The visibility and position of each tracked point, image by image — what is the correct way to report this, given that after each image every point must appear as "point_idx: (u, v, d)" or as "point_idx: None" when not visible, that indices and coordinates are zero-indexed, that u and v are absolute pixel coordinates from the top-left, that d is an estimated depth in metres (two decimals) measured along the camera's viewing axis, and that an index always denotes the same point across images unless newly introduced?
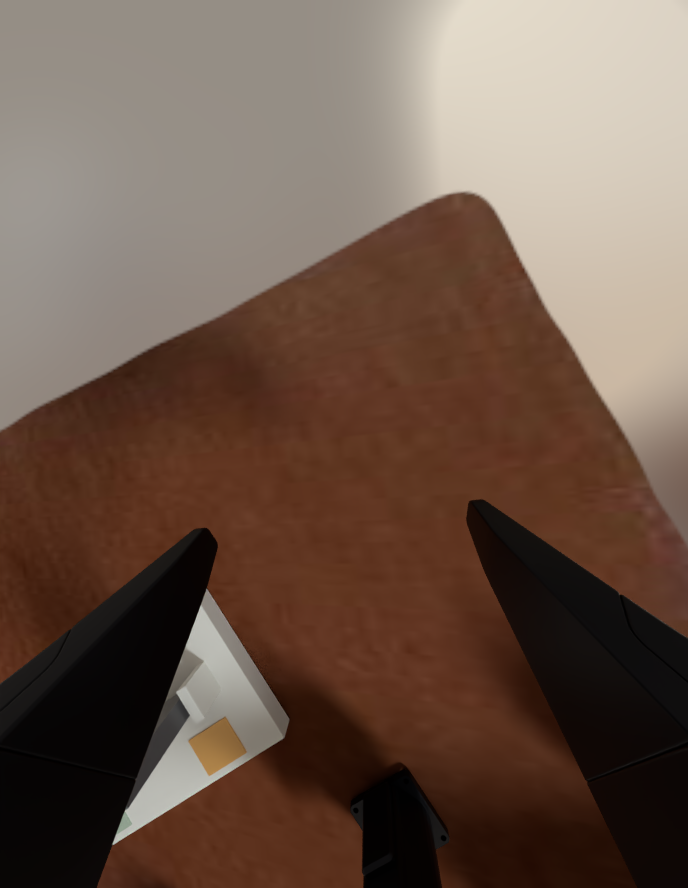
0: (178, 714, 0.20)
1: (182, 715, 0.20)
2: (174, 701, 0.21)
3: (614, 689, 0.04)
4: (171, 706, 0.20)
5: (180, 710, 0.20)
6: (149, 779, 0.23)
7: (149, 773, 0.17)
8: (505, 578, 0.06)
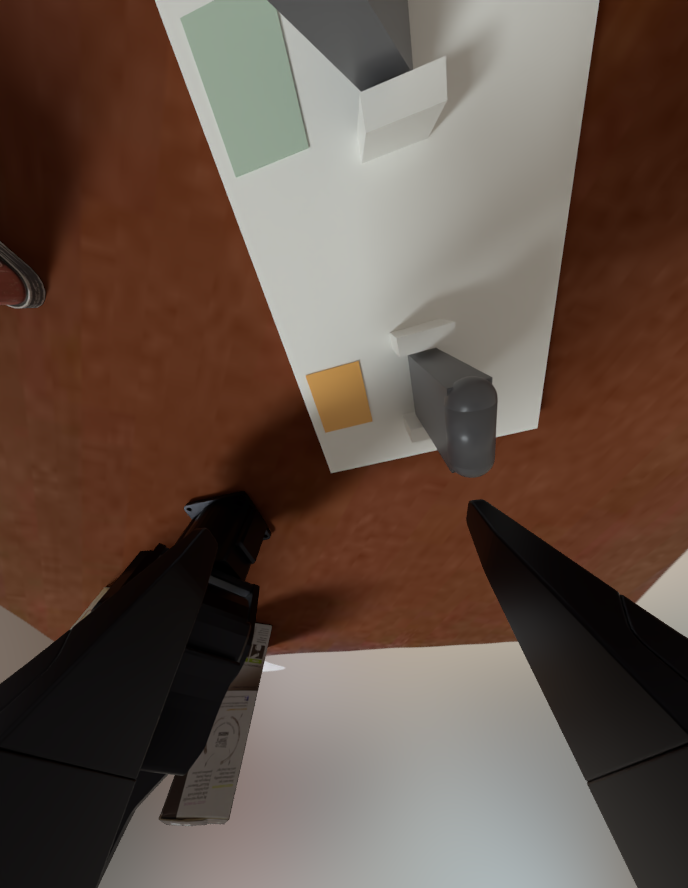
0: None
1: None
2: None
3: (614, 689, 0.04)
4: None
5: None
6: (315, 260, 0.13)
7: None
8: (505, 578, 0.06)
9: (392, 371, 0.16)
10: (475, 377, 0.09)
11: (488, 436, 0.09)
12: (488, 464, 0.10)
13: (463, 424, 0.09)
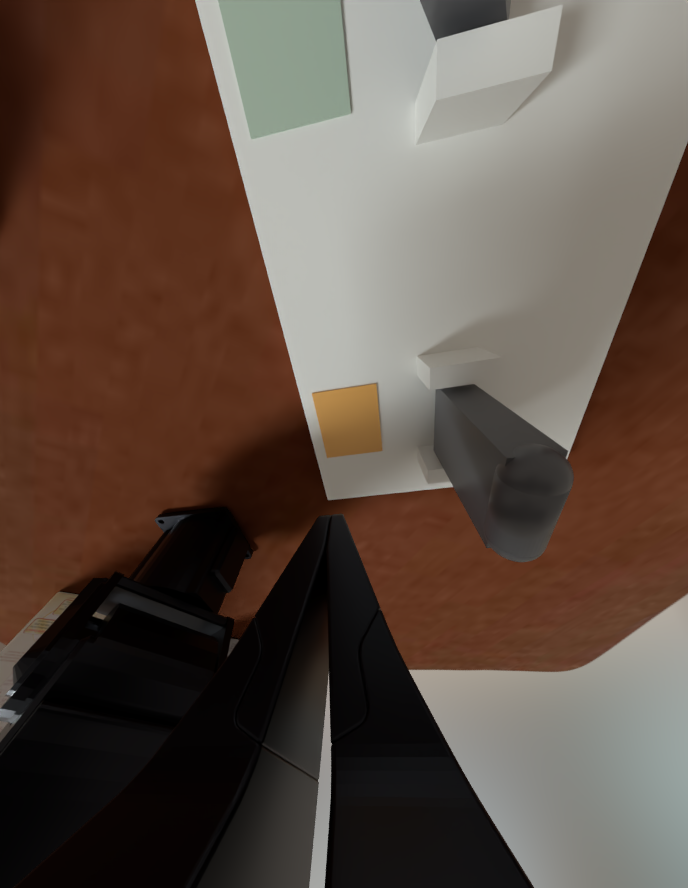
0: None
1: None
2: None
3: None
4: None
5: None
6: (340, 259, 0.11)
7: None
8: None
9: (413, 399, 0.14)
10: (547, 449, 0.07)
11: (551, 524, 0.07)
12: (541, 552, 0.08)
13: (523, 507, 0.07)
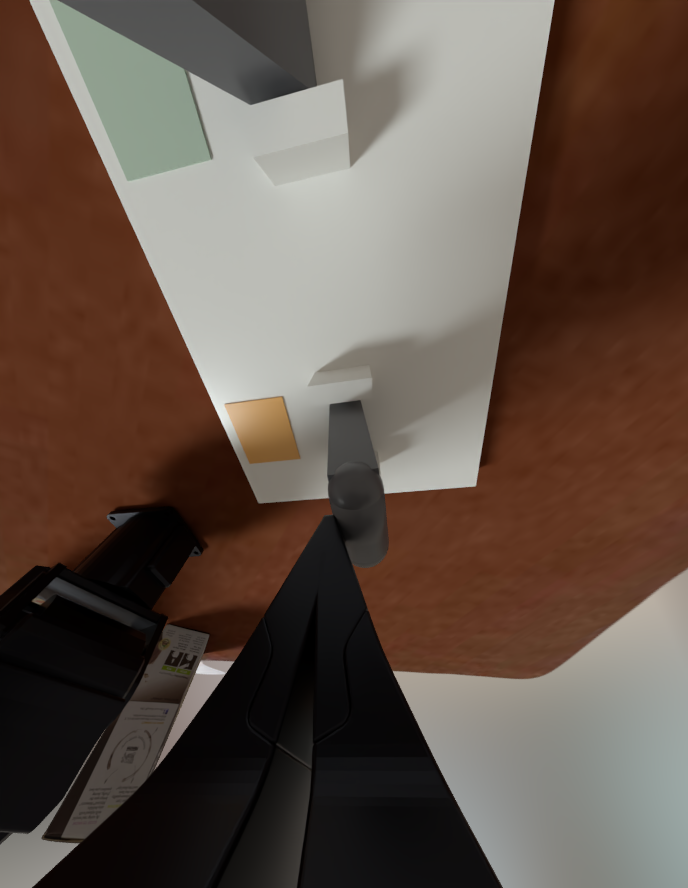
0: None
1: None
2: None
3: None
4: None
5: None
6: (227, 285, 0.12)
7: None
8: None
9: (319, 411, 0.15)
10: (358, 467, 0.07)
11: (372, 533, 0.08)
12: (376, 558, 0.08)
13: (342, 519, 0.08)
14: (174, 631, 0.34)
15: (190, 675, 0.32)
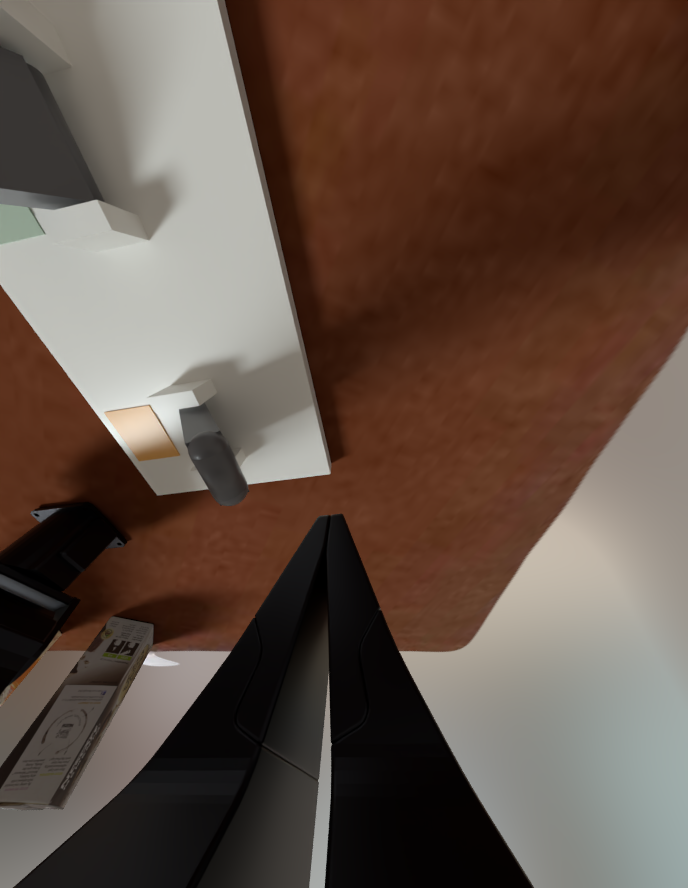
0: None
1: None
2: None
3: None
4: None
5: None
6: (81, 320, 0.15)
7: None
8: None
9: None
10: (205, 432, 0.12)
11: (229, 473, 0.12)
12: (239, 492, 0.13)
13: (204, 468, 0.12)
14: (118, 622, 0.37)
15: (131, 660, 0.34)
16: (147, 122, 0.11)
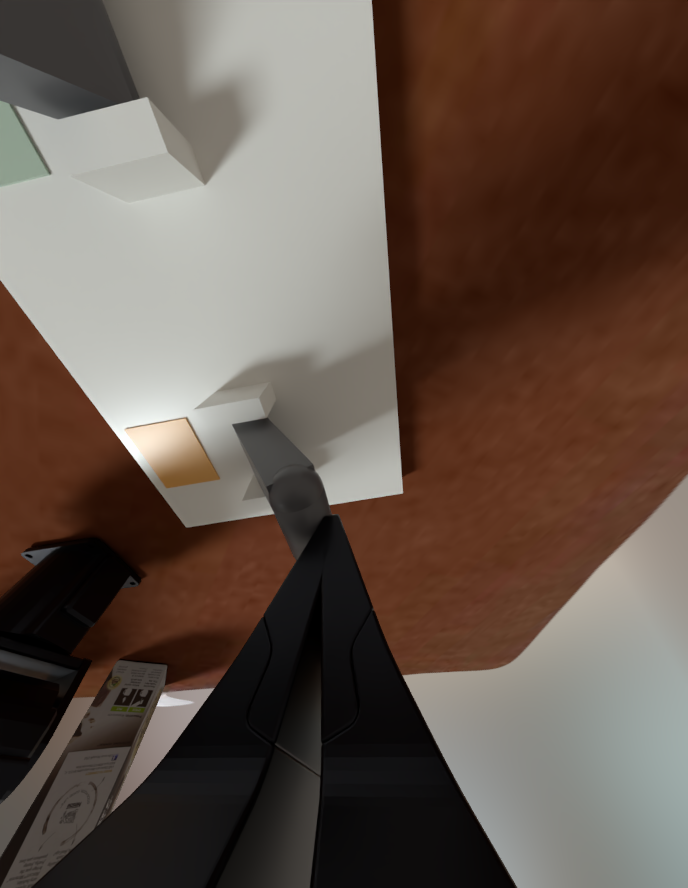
0: None
1: None
2: None
3: None
4: None
5: None
6: (99, 306, 0.11)
7: None
8: None
9: (229, 431, 0.14)
10: (295, 468, 0.08)
11: None
12: None
13: (294, 524, 0.08)
14: (126, 666, 0.32)
15: (144, 713, 0.29)
16: None
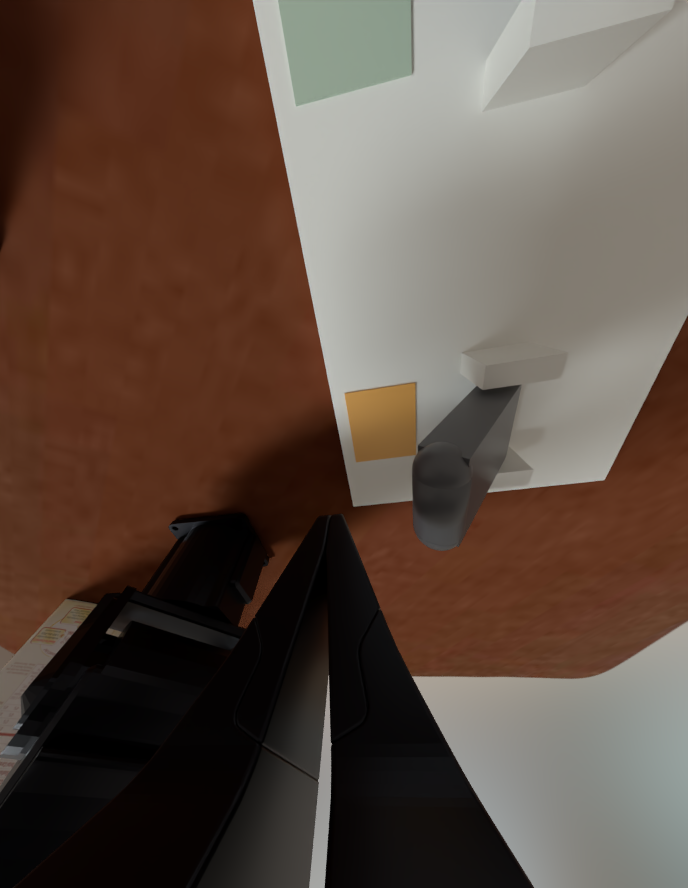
0: None
1: None
2: (502, 455, 0.12)
3: None
4: (499, 463, 0.12)
5: None
6: (386, 245, 0.10)
7: None
8: None
9: (453, 399, 0.13)
10: (448, 449, 0.07)
11: (438, 516, 0.08)
12: (437, 543, 0.08)
13: (415, 489, 0.08)
14: None
15: None
16: None
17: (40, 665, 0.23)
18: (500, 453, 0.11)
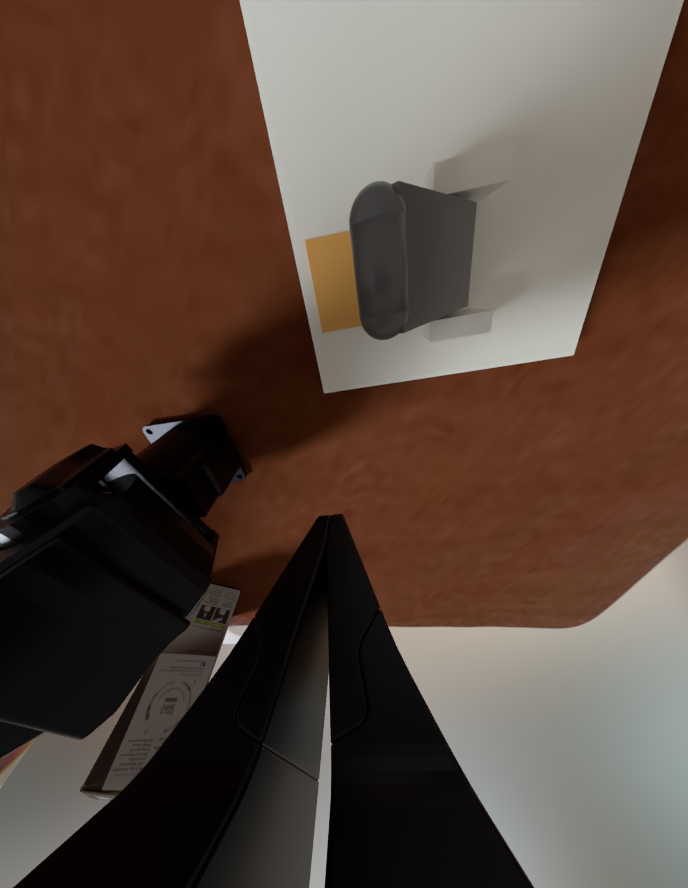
0: None
1: None
2: (461, 291, 0.12)
3: None
4: (457, 297, 0.12)
5: None
6: (333, 41, 0.09)
7: None
8: None
9: None
10: None
11: (374, 268, 0.08)
12: (378, 314, 0.08)
13: (352, 247, 0.08)
14: None
15: (225, 629, 0.29)
16: None
17: None
18: (456, 279, 0.11)
